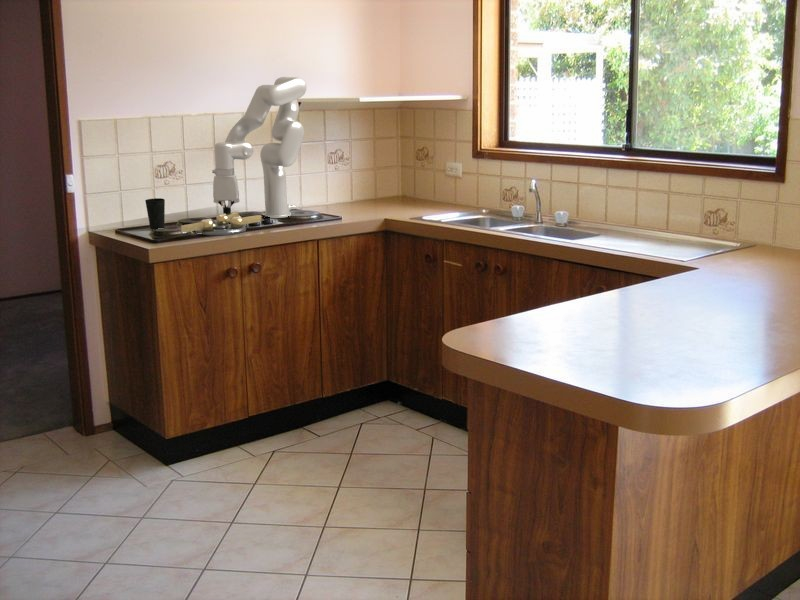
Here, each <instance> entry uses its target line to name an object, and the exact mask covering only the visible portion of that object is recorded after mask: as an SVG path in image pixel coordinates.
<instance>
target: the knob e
mask: <svg viewBox="0 0 800 600" xmlns="http://www.w3.org/2000/svg"><path fill="white" fill-rule="evenodd" d="M213 223H214V220H213V219H212V218H207V219H202V220H200V222H193V223H189V224H184V225H183V224H181V225H180V230H181V233H189V232H194V231H195V232H196V230H202V231H210V230H214V228H213Z"/></svg>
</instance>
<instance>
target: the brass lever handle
mask: <svg viewBox="0 0 800 600" xmlns="http://www.w3.org/2000/svg"><path fill="white" fill-rule="evenodd" d="M229 222H230V223H231V228H241V227H243V225H248V224H249V225H250V224H255V223H260V222H261V223H262V222H263V221H262V214H256V215H251V216H250V215H249V216H243V217H242V216H240V215H239V216H237V217H232V218H230V221H229Z"/></svg>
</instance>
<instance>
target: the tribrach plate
mask: <svg viewBox="0 0 800 600" xmlns="http://www.w3.org/2000/svg"><path fill="white" fill-rule="evenodd" d="M213 228H214V230H210V231H202V230H195V233H196V232H197V233H202V234H203V235H202V236H207V237H208V236H209V237H225V236H233V235H238V234H242V233H245V232H246V231H247V226H246V224H243V227H241V228H231V224H228V225H217V223H214V222H213ZM197 233H196V234H197Z"/></svg>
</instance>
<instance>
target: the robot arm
mask: <svg viewBox="0 0 800 600" xmlns="http://www.w3.org/2000/svg"><path fill="white" fill-rule="evenodd" d="M306 91H307V83H306V82H305V80H303V78H300V77H298V76H295V77H293V76H281V77H278V78H277V79H275V81H274V84H261V85H259V86H257V88H256V90H255V91H254V93H253V95H252V97H251V98H252V99H251V100H250V101H249V105H248V106H247V109H246V111H245V113H244V114H243V116H242V117H241V118H240V119H239V120H238V121H237V122H236V123H235V124H234V125H233V126H232V127H231V129H230V131H229V132H228V134H227V137H226V138H225V141H224V142H217V143H215V144H214V160H215V161H214V162H215V165H214V166H215V169H212V170H211V171H212V172H211V173H212V174H215V175H214V176H213V183H212V189H213V191H212V192H213V194H212V195H213V203H214V204H218V205H219V206H221V207H222V214H224V213H226V214H229V213H232V210H231V207H232V206H233V205H234V204H238V203H240V198H239V197H240V192H239V185H238V179H237V175H235V161H234V160H241V161H244V160H248V159H250V158H251V157H252V156H253V153H254V148H253V146H252V144H250V143H249V142H247V141H244V140H245V138H247V136H248V135H249V134H250V133H251V132H253V131H255V130H257V129H259V128H260V127H262V126H263V125H264V123H265V121H266V119H267V117H268V114H269V112H270V110H271V108H272V106H274V107H278V106H279V107H278V110H277V113H276V117H275V119H274V122H273V124H272V127H271V136H272V138H273V139H274V140H275V141H277V143H276V142H267V143H266V144H264V145H263V146H262V147H261V150H260V151H259V152H260V153H259V155H260V161H261V165H262V171H263V172H262V173H263V174H262V175H263V188H264V189H263V191H264V192H263V193H264V206H265V207H264V208H265V209H264V211H265V212H262V213H261V216H262V215H266V216H268V217H270V218H269V219H282V218H289V217H291V216H292V212H291V210H296V205H295V204H292V205H291V204H288V194H287V193H288V192H287V175H286V170H285V168H289V167H292V165H294V163H295V162H296V159H297V157H298V155H299V152H300V149H301V146H302V144H303V140H304V137H305V129H304V128H305V127H304V126H303V124H302V122H300V121H298V120H297V119H298V115H299V113H300V112H299V111H300V107H299V101H298V99H301V98H302V97H303V96H304V95H305V94H306ZM278 142H280V143H278ZM226 201H227V204H226ZM288 216H289V217H288Z"/></svg>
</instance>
